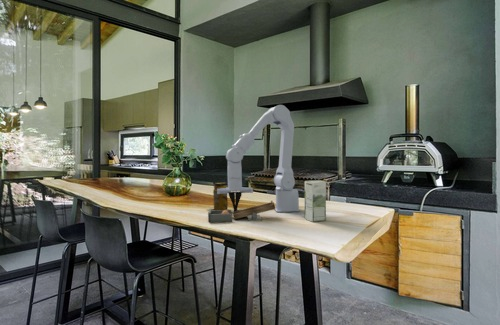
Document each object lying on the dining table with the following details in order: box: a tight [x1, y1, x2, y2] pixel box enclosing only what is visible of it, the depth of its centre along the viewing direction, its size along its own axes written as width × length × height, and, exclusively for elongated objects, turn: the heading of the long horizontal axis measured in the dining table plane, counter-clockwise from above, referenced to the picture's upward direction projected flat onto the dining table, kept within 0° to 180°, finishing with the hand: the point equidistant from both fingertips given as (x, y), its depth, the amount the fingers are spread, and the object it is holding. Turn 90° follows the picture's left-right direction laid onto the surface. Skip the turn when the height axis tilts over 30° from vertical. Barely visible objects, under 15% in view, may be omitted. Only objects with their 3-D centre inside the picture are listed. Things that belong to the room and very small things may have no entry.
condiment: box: [206, 181, 230, 212], centre depth 138 cm, size 7×8×12 cm
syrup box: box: [304, 179, 327, 223], centre depth 116 cm, size 6×6×14 cm
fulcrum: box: [246, 212, 263, 221], centre depth 122 cm, size 5×8×3 cm, turn 4°
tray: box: [207, 208, 232, 223], centre depth 121 cm, size 8×8×4 cm
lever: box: [232, 200, 276, 220], centre depth 125 cm, size 16×12×2 cm
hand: (235, 210), depth 130 cm, fingers closed
